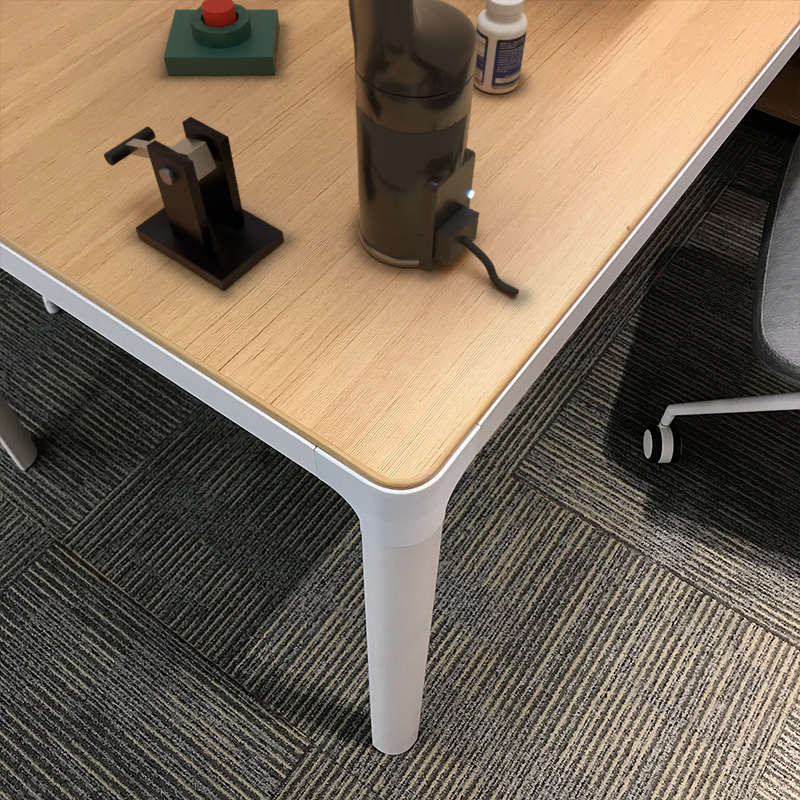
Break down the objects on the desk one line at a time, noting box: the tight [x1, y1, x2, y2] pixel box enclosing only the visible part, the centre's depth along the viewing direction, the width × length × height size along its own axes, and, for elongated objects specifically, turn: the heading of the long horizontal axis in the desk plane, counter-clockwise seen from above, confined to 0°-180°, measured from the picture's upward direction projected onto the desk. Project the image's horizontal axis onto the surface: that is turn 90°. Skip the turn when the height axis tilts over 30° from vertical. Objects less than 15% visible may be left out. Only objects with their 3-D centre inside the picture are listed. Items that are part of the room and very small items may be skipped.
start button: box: [200, 0, 236, 27], centre depth 86 cm, size 4×4×2 cm
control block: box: [163, 2, 280, 76], centre depth 88 cm, size 12×10×4 cm
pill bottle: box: [474, 0, 529, 94], centre depth 83 cm, size 5×5×10 cm
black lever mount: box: [135, 116, 285, 291], centre depth 67 cm, size 11×8×11 cm
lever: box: [103, 126, 217, 181], centre depth 66 cm, size 11×5×2 cm, turn 53°
